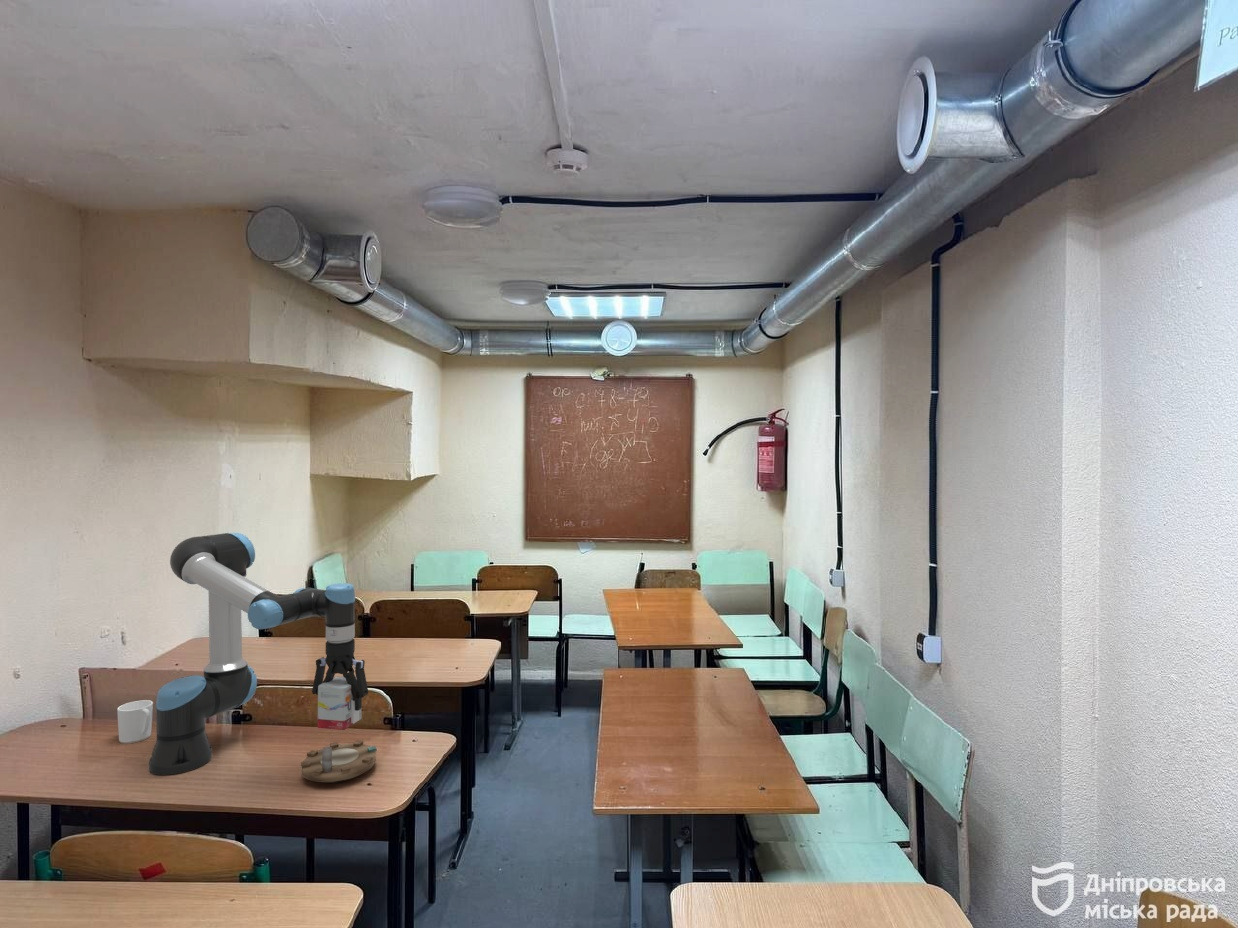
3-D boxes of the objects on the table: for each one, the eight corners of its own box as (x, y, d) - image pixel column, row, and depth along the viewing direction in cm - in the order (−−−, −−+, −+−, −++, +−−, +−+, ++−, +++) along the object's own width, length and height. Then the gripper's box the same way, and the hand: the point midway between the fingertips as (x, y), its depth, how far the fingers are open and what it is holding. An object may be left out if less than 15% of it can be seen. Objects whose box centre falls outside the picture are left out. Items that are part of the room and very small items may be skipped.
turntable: (296, 760, 183) (297, 732, 183) (368, 744, 194) (368, 717, 194) (306, 789, 167) (306, 758, 167) (383, 770, 178) (383, 741, 178)
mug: (110, 741, 199) (110, 708, 199) (141, 730, 208) (141, 698, 208) (133, 747, 195) (133, 713, 195) (163, 735, 203) (163, 703, 203)
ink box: (344, 730, 175) (344, 687, 175) (316, 728, 177) (316, 685, 177) (362, 718, 184) (362, 677, 184) (336, 715, 186) (336, 675, 186)
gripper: (297, 641, 179) (297, 722, 179) (367, 645, 175) (367, 728, 175) (314, 634, 186) (314, 712, 186) (382, 638, 182) (382, 717, 182)
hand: (340, 719), depth 180 cm, fingers closed on ink box, 9 cm apart
